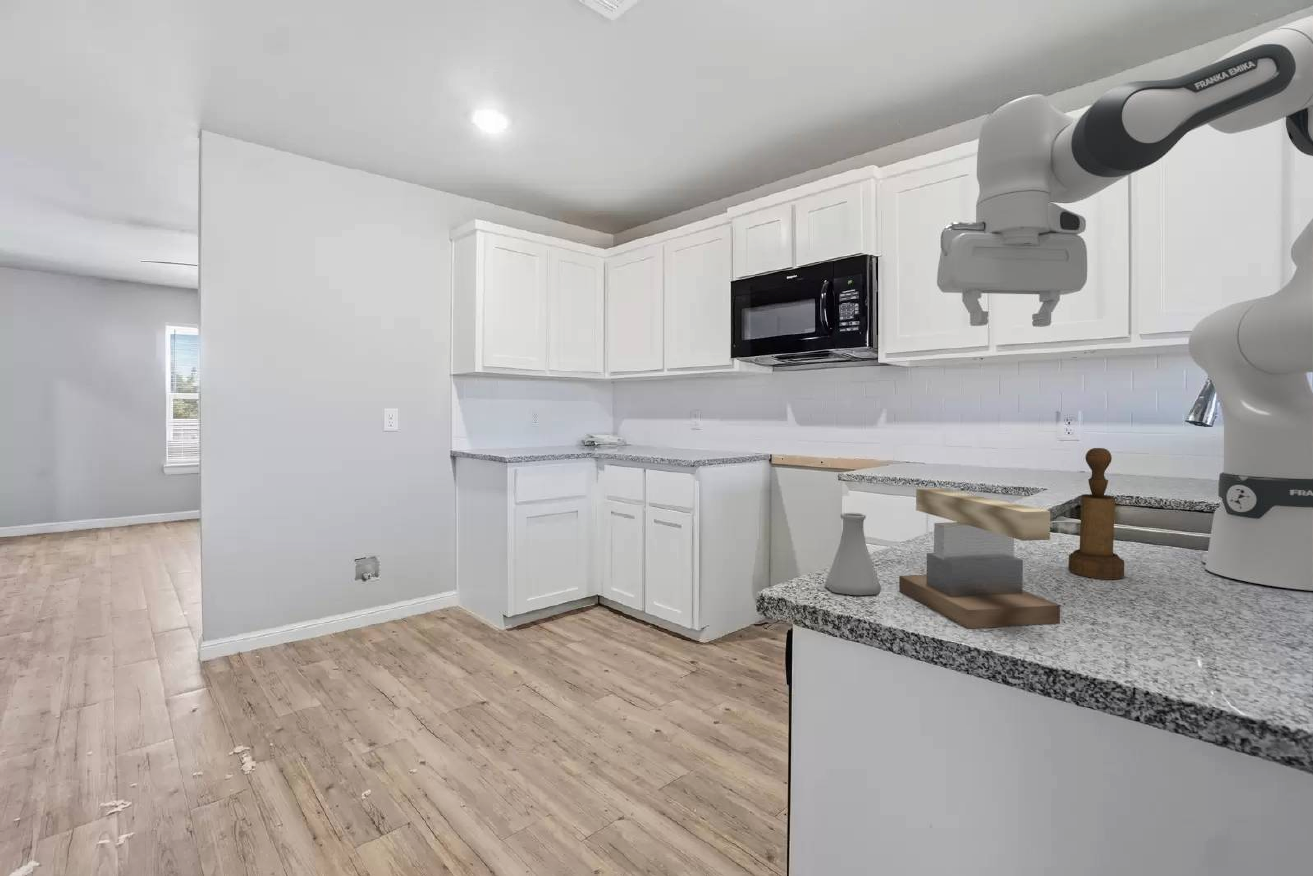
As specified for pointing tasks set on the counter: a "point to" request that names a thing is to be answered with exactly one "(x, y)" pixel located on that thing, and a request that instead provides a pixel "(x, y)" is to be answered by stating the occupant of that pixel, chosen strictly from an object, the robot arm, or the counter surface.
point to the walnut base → (983, 606)
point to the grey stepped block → (972, 562)
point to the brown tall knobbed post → (1097, 525)
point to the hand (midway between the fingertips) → (1010, 325)
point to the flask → (853, 561)
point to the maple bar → (985, 513)
